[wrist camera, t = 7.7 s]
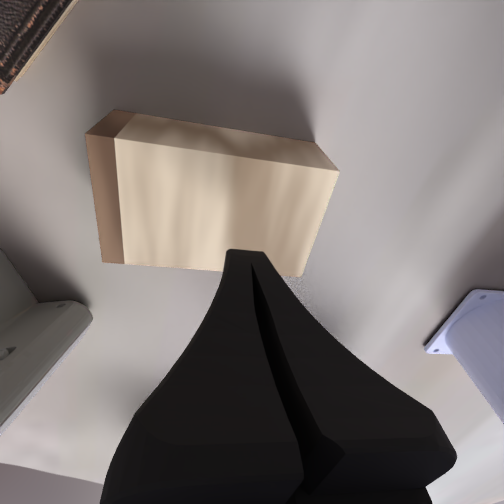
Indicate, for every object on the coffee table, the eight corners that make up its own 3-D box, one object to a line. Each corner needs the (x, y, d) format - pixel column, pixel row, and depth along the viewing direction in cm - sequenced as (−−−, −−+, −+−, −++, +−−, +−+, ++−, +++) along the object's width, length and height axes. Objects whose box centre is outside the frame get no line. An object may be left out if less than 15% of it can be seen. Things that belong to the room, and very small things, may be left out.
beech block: (339, 171, 13) (84, 133, 11) (300, 277, 16) (102, 262, 14) (315, 142, 16) (114, 109, 14) (287, 236, 19) (122, 219, 18)
